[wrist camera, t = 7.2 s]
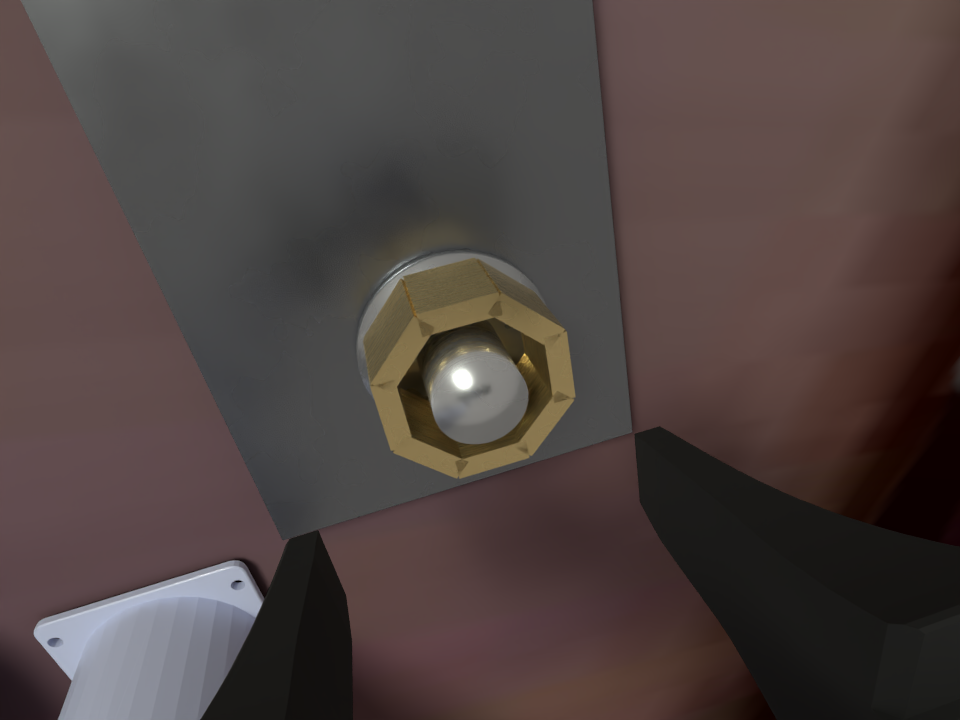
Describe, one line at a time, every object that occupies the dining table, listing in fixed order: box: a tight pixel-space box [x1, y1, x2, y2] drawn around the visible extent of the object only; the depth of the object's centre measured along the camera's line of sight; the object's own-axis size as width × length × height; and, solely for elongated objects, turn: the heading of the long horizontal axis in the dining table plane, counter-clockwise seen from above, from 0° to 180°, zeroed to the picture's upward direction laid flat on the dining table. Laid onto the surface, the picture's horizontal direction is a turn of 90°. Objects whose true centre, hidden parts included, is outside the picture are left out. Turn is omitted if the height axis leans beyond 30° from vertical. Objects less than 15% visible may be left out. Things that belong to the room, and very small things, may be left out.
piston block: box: [21, 0, 632, 540], centre depth 18 cm, size 20×14×5 cm
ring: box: [363, 257, 575, 479], centre depth 20 cm, size 6×6×3 cm
